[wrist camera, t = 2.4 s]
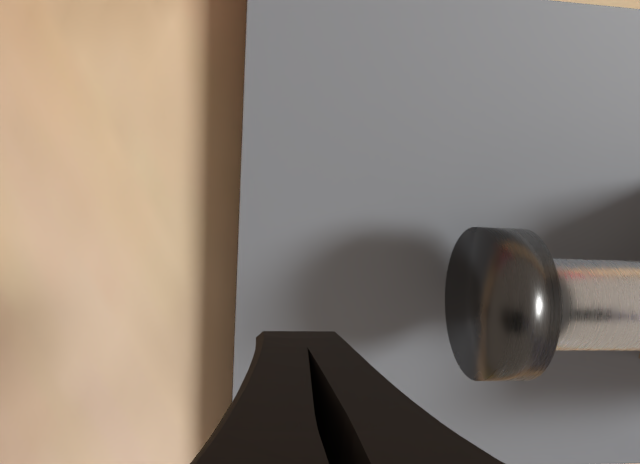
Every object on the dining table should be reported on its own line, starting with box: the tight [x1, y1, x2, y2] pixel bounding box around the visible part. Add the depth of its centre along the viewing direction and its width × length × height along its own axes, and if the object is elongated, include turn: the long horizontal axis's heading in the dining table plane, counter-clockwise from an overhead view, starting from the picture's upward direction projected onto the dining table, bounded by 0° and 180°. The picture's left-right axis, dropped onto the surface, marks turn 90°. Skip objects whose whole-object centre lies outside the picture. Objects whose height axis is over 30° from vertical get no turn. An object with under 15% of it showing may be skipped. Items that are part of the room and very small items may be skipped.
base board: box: [232, 0, 640, 464], centre depth 18 cm, size 14×20×1 cm
